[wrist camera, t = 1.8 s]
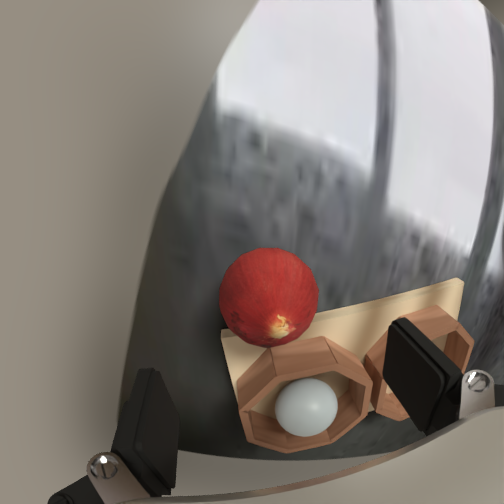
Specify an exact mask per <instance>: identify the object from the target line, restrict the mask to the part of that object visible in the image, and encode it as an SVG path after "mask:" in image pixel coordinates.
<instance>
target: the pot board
mask: <svg viewBox="0 0 504 504" xmlns="http://www.w3.org/2000/svg"><path fill="white" fill-rule="evenodd" d="M463 286H464V282H463V281H461V280H460V279H458V278H453V279H450V280H447V281H444V282H440V283H437V284H433V285H430V286H426V287H423V288H419V289H416V290H412V291H408V292H405V293H401V294H397V295H393V296H389V297H385V298H381V299H377V300H373V301H369V302H365V303H361V304H356V305H352V306H348V307H343V308H338V309H334V310H329V311H324V312H320V313H315V316H314V318H313V320H312V322H311V324H310V327H309V328H308V329H307V330H306V331H305V332H304V333H303V334H302V335H301V336H300V337H299V338H298V339H296V340H294V341H291V342H289V343H287V344H284V345H280V346H275V347H271V348H263V347H259V346H255V345H251V344H248V343H246V342H245V341H243V340H242V339H241V338H239V337H238V336H237V335H236V334H234V333H233V332H232V331H231V330H230V329H222V330H221V340H222V345H223V349H224V353H225V357H226V361H227V365H228V368H229V372H230V376H231V380H232V384H233V388H234V391H235V395H236V399H237V402H238V409H239V415H240V418H241V421H242V425H243V428H244V432H245V435H246V438H247V441H248V442H250V443H253V444H256V445H259V446H262V447H266V448H269V449H272V450H276V451H279V452H283V453H291V452H296V451H301V450H306V449H310V448H315V447H319V446H323V445H327V444H331V443H333V442H335V441H336V440H337V439H339V438H340V437H341V436H343V435H344V434H345V433H346V432H348V431H349V430H350V429H351V428H353V427H354V426H355V425H356V424H358V423H359V422H360V421H361V420H362V419H364V418H365V417H366V416H367V414H368V412H370V411H373V410H375V412H376V413H378V414H381V415H383V416H386V417H389V418H392V419H394V420H397V421H401V420H404V419H406V418H409V417H410V416H409V415H408V413H407V412H406V411H405V409H404V408H403V406H402V405H401V403H400V402H399V400H398V399H397V398H396V396H395V395H394V393H393V392H392V390H391V389H390V388H389V386H388V385H387V383H386V382H385V380H384V379H383V375H382V371H383V365H384V358H385V351H386V343H387V335H388V327H389V325H391V323H392V321H393V320H396V319H399V318H402V317H406V318H407V319H408V320H409V321H411V322H412V323H413V324H414V325H415V326H416V327H417V328H418V329H419V330H420V331H421V332H422V333H423V334H425V335H426V336H427V337H428V338H429V339H430V340H431V341H432V342H433V343H434V344H435V345H436V346H437V347H438V348H439V349H440V350H441V351H442V352H443V353H444V354H445V355H446V356H447V357H449V358H450V359H451V360H452V361H453V362H454V363H455V364H456V365H457V366H458V367H459V368H460V369H461V370H462V373H463V374H464V372H465V370H466V367H467V364H468V361H469V358H470V355H471V352H472V348H473V345H474V340H473V339H472V338H471V336H470V335H469V334H468V333H467V331H466V330H465V329H464V328H463V327H462V325H461V324H460V323H459V322H458V321H457V319H458V314H459V309H460V304H461V298H462V292H463ZM300 378H315V379H319V380H321V381H323V382H325V383H326V384H327V385H329V386H330V387H331V389H332V390H333V391H334V393H335V395H336V398H337V403H338V409H337V414H336V417H335V419H334V421H333V422H332V423H331V425H330V426H329V427H328V428H327V429H326V430H324V431H323V432H321V433H319V434H317V435H313V436H308V437H302V436H296V435H293V434H291V433H289V432H287V431H286V430H285V429H283V428H282V426H281V425H280V424H279V422H278V420H277V418H276V414H275V403H276V399H277V397H278V395H279V393H280V392H281V390H282V389H283V388H284V387H285V386H286V385H288V384H289V383H290V382H292V381H294V380H297V379H300Z"/></svg>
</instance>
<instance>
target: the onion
mask: <svg viewBox="0 0 504 504" xmlns="http://www.w3.org/2000/svg"><path fill="white" fill-rule="evenodd" d="M318 293H319V289H318V287H317V284H316V282H315V279H314V276H313V274H312V271H311V269H310V268H309V267H308V266H307V265H306V264H305V263H303V262H302V261H301V260H300V259H299V258H298V257H297V256H296V255H295V254H293V253H290V252H287V251H285V250H282V249H279V248H258V249H255V250H253V251H250V252H247V253H245V254H242V255H241V256H240V257H239V258H238V259H237V260H236V261H235V262H234V263H233V264H232V265H231V266H230V267H229V268H228V269H227V271H226V273H225V275H224V278H223V281H222V283H221V286H220V292H219V306H220V311H221V313H222V315H223V318H224V320H225V322H226V324H227V326H228V328H229V329H230V330H231V331H232V332H233V333H234V334H236V335H237V336H238V337H239V338H241V339H242V340H243V341H245V342H246V343H248V344H251V345H255V346H259V347H263V348H271V347H275V346H280V345H284V344H287V343H289V342H291V341H294V340H296V339H298V338H299V337H300V336H301V335H302V334H303V333H304V332H305V331H306V330H307V329H308V328H309V327H310V324H311V322H312V320H313V318H314V316H315V313H316V311H317V303H318Z"/></svg>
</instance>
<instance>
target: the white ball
mask: <svg viewBox="0 0 504 504" xmlns="http://www.w3.org/2000/svg"><path fill="white" fill-rule="evenodd" d="M337 409H338V403H337V398H336V395H335V393H334V391H333V390H332V389H331V387H330V386H329V385H327V384H326V383H325V382H323V381H321V380H319V379H315V378H300V379H297V380H294V381H292V382H290V383H289V384H288V385H286V386H285V387H284V388H283V389H282V390H281V392H280V393H279V395H278V397H277V399H276V403H275V414H276V418H277V420H278V422H279V424H280V425H281V426H282V428H283V429H285V430H286V431H287V432H289V433H291V434H293V435H296V436H302V437H308V436H313V435H317V434H319V433H321V432H323V431H324V430H326V429H327V428H328V427H329V426H330V425H331V423H332V422H333V421H334V419H335V417H336V414H337Z"/></svg>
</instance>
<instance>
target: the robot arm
mask: <svg viewBox="0 0 504 504" xmlns="http://www.w3.org/2000/svg"><path fill="white" fill-rule="evenodd" d="M382 375H383V379H384V380H385V382H386V383H387V385H388V386H389V388H390V389H391V390H392V392H393V393H394V395H395V396H396V398H397V399H398V400H399V402H400V403H401V405H402V406H403V408H404V409H405V411H406V412H407V413H408V415H409V416H410V418H411V419H412V421H413V422H414V424H415V425H416V427H417V428H418V430H419V431H423V432H424V433H425V435H426V436H427V435H429V434H431V433H433V432H435V431H437V432H435V433H433V434H431V435H429V436H427V437H425V438H423V439H421V440H419V441H417V442H414V443H412V444H410V445H408V446H406V447H404V448H401V449H399V450H397V451H394V452H392V453H390V454H387V455H385V456H382V457H380V458H377V459H374V460H372V461H369V462H366V463H363V464H360V465H358V466H355V467H352V468H349V469H346V470H342V471H339V472H336V473H332V474H329V475H325V476H322V477H318V478H314V479H310V480H306V481H302V482H297V483H292V484H288V485H283V486H277V487H272V488H266V489H260V490H253V491H246V492H238V493H228V494H216V495H203V496H178V497H177V496H176V497H162V495H171V488H175V483H176V482H175V481H176V466H177V453H178V440H179V428H180V418H179V414H178V412H177V410H176V408H175V406H174V404H173V401H172V399H171V397H170V395H169V393H168V390H167V388H166V386H165V383H164V381H163V379H162V376H161V374H160V372H159V371H155V369H154V368H144V369H139V370H138V373H137V376H136V379H135V383H134V386H133V389H132V393H131V396H130V399H129V401H126V402H125V403H124V406H123V409H122V412H121V416H120V419H119V423H118V426H117V430H116V433H115V437H114V440H113V444H112V448H111V451H110V452H101V453H99V454H96V455H94V456H93V457H92V458H91V459H90V461H88V464H87V474H88V475H86V476H84V477H83V478H81V479H79V480H78V481H76V482H74V483H73V484H71V485H69V486H67V487H66V488H64V489H62V490H60V491H59V492H57V493H55V494H54V495H52V496H51V497H50V499H49V501H48V504H504V385H496V384H494V381H493V378H492V377H491V375H489V374H488V373H487V372H485V371H482V370H472V371H469V372H467V373H466V374H465V375H464V374H463V373H462V370H461V369H460V368H459V367H458V366H457V365H456V364H455V363H454V362H453V361H452V360H451V359H450V358H449V357H447V356H446V355H445V354H444V353H443V352H442V351H441V350H440V349H439V348H438V347H437V346H436V345H435V344H434V343H433V342H432V341H431V340H430V339H429V338H428V337H427V336H426V335H425V334H423V333H422V332H421V331H420V330H419V329H418V328H417V327H416V326H415V325H414V324H413V323H412V322H411V321H409V320H408V319H407V318H406V317H402V318H399V319H396V320H393V321H392V323H391V325H389V327H388V335H387V343H386V351H385V358H384V365H383V371H382Z"/></svg>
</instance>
